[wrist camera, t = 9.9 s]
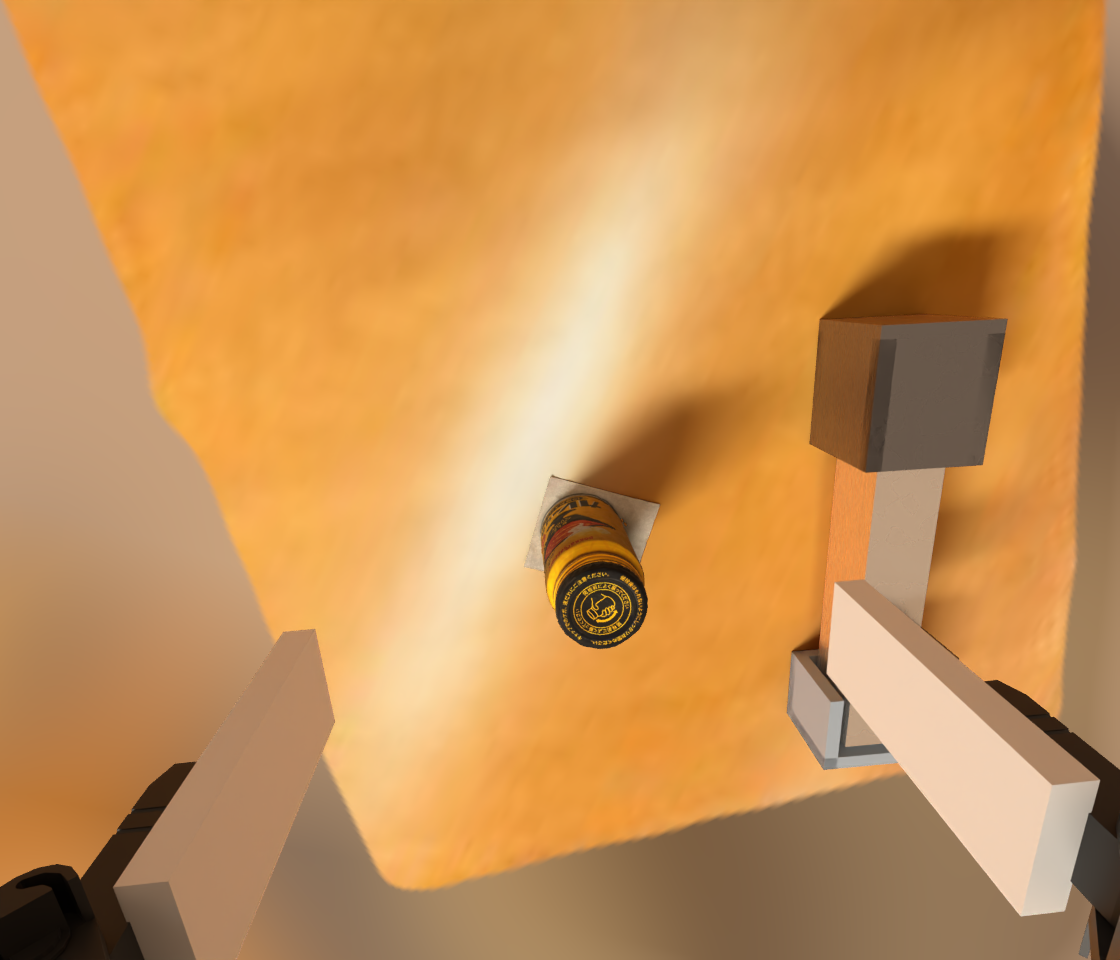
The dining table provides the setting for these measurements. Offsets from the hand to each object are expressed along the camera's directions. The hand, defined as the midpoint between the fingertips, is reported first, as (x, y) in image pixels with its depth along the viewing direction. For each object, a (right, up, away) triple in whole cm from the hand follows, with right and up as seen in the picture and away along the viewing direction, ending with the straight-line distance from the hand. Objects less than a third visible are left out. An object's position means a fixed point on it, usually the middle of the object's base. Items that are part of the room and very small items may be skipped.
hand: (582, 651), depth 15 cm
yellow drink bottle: (+2, 0, +30) cm, 30 cm away
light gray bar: (+22, -3, +31) cm, 38 cm away
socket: (+22, -12, +35) cm, 44 cm away
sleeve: (+21, +11, +28) cm, 37 cm away
